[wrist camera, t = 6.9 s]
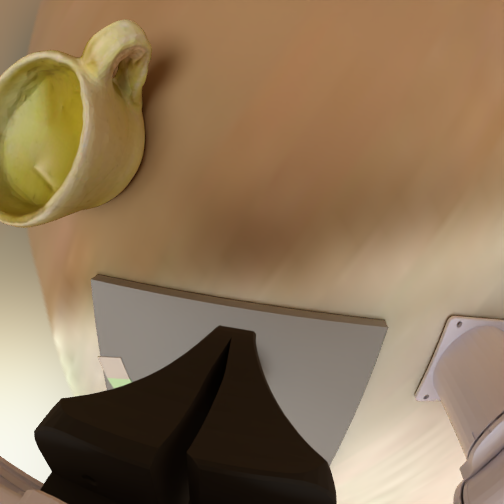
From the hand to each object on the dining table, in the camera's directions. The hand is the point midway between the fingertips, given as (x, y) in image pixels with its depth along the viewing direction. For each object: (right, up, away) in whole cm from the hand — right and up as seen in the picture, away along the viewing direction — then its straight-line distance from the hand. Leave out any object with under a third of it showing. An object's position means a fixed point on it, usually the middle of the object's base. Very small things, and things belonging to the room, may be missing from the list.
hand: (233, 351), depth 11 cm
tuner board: (-2, -10, +14) cm, 17 cm away
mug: (-9, +12, +8) cm, 17 cm away
